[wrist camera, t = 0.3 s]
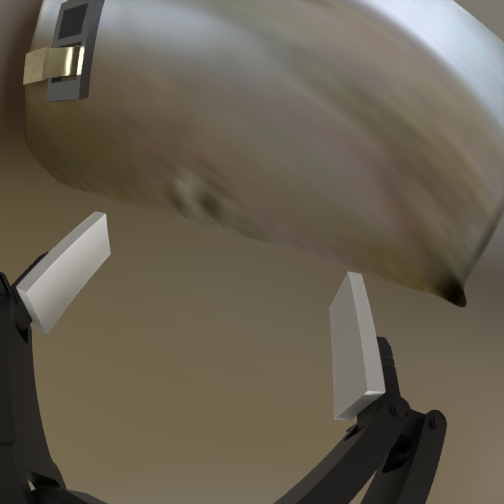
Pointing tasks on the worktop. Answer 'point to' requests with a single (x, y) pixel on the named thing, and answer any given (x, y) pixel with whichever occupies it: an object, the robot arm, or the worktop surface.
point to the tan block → (50, 63)
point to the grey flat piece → (71, 33)
